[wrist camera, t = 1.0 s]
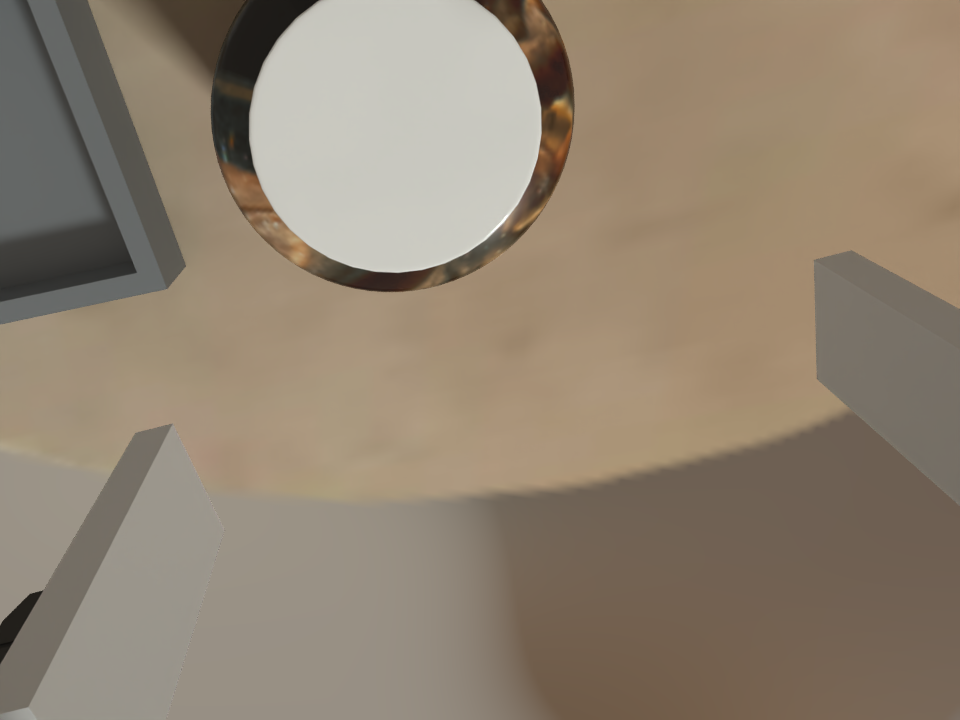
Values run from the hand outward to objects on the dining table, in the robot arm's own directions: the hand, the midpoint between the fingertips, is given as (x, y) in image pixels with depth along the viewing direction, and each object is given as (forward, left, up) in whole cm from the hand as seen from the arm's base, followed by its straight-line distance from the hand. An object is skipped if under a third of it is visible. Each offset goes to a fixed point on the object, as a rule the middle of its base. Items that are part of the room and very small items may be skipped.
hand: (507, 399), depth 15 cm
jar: (-4, -1, -24) cm, 25 cm away
